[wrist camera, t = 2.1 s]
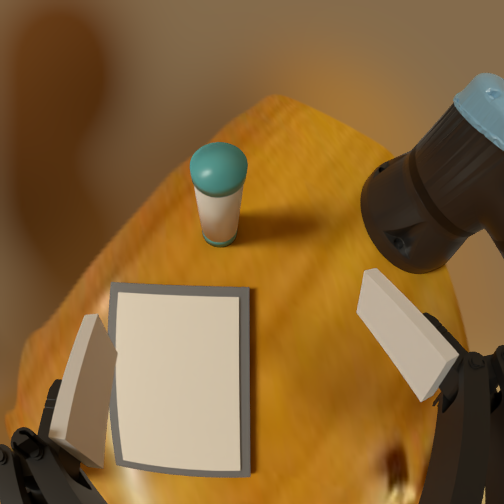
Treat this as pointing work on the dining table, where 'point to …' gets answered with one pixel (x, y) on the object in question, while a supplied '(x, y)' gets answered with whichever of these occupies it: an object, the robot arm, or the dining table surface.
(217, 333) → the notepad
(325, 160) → the dining table surface
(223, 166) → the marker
